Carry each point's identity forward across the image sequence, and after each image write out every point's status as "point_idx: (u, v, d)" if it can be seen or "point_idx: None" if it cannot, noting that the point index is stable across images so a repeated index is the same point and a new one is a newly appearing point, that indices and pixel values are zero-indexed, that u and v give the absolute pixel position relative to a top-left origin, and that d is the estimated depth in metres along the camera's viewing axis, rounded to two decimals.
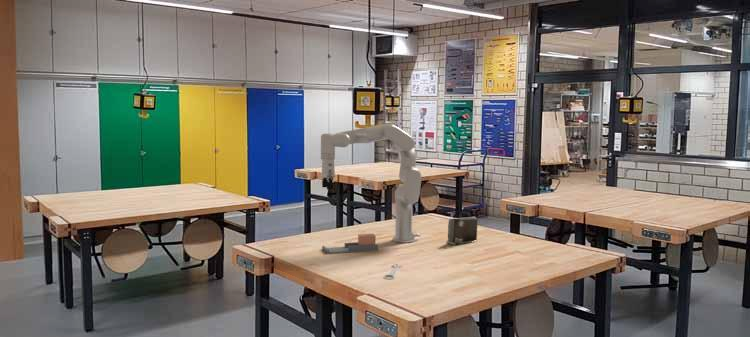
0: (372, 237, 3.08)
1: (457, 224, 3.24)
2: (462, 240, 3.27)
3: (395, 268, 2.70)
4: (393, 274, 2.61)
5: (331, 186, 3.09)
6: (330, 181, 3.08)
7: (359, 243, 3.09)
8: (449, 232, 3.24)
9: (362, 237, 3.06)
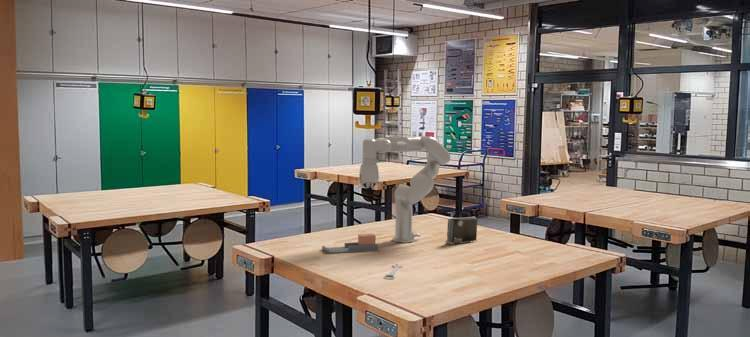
0: (372, 237, 3.08)
1: (457, 224, 3.25)
2: (461, 240, 3.28)
3: (395, 268, 2.70)
4: (393, 274, 2.61)
5: None
6: None
7: (359, 243, 3.09)
8: (448, 232, 3.25)
9: (362, 237, 3.06)
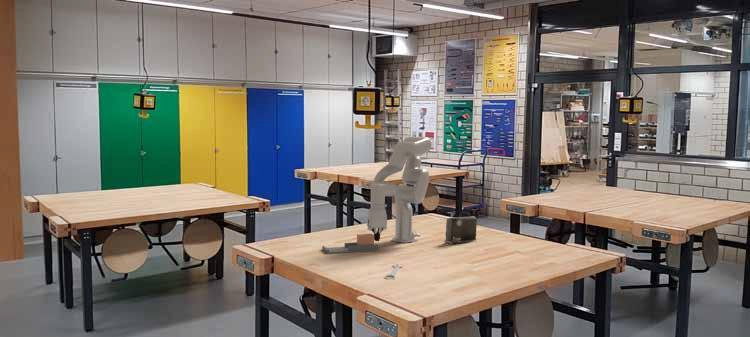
0: (371, 237, 3.08)
1: (455, 224, 3.26)
2: (460, 239, 3.29)
3: (396, 268, 2.70)
4: (394, 274, 2.61)
5: None
6: (379, 233, 3.12)
7: (358, 243, 3.09)
8: (447, 231, 3.26)
9: (361, 237, 3.06)
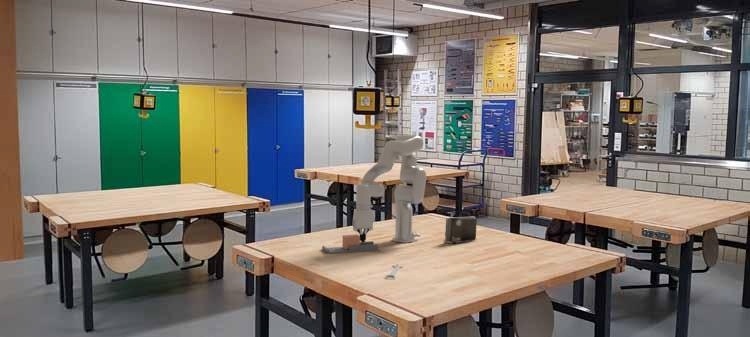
0: (357, 238, 3.05)
1: (455, 223, 3.27)
2: (460, 239, 3.29)
3: (396, 268, 2.70)
4: (394, 274, 2.61)
5: None
6: (365, 234, 3.09)
7: (343, 244, 3.06)
8: (446, 231, 3.27)
9: (346, 238, 3.03)
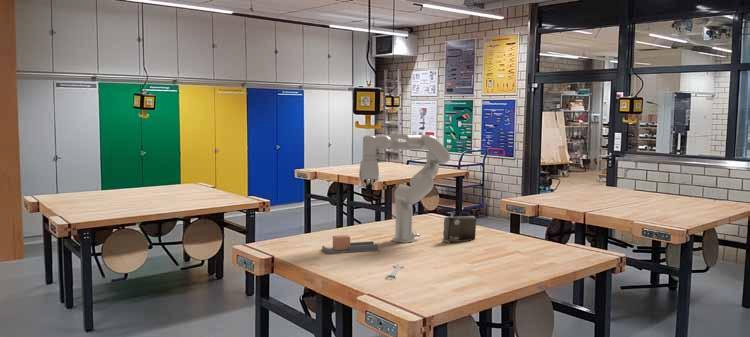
0: (347, 238, 3.03)
1: (453, 223, 3.29)
2: (458, 238, 3.31)
3: (396, 268, 2.70)
4: None
5: None
6: (371, 184, 3.21)
7: (333, 245, 3.04)
8: (444, 230, 3.29)
9: (336, 239, 3.01)
